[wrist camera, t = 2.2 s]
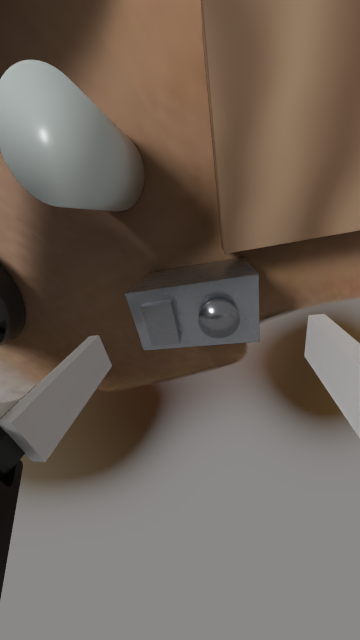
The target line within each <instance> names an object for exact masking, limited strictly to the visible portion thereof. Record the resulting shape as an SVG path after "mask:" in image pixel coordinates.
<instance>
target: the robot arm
mask: <svg viewBox="0 0 360 640" xmlns="http://www.w3.org/2000/svg"><path fill="white" fill-rule="evenodd" d="M24 322H25V309H24V305H23V301H22V298H21V296H20V293H19V291H18V289H17V287H16V285H15V284H14V282H13V281H12V279H11V278H10V276H9V275H8V274H7V272H6V271H5V270H4V269H3V268H2V266H1V265H0V345H2V344H4V343H5V342H7V341H9V340H10V339H12V338H14V337H15V336H17V335H18V334H19V333H20V332H21V330H22V328H23V326H24ZM304 356H305V358H306V359H307V361H308V362H309V363H310V365H311V367H312V368H313V369H314V371H315V373H316V374H317V376H318V377H319V379H320V380H321V382H322V383H323V385H324V386H325V388H326V389H327V391H328V392H329V393H330V395H331V396H332V398H333V399H334V401H335V402H336V404H337V405H338V407H339V408H340V410H341V411H342V413H343V414H344V416H345V417H346V419H347V420H348V422H349V423H350V425H351V426H352V428H353V429H354V431H355V432H356V434H357V435H358V437H359V438H360V343H358V342H357V341H356V340H355V339H354V338H352V337H351V336H350V335H349V334H347V332H345V331H344V330H343V329H342V328H341V327H339V326H338V325H337V324H336V323H334V322H333V321H332V320H331V319H330V318H328V317H327V316H326V315H325V314H318V315H309V316H308V326H307V335H306V345H305V353H304ZM111 367H112V365H111V362H110V360H109V358H108V355H107V353H106V351H105V348H104V346H103V344H102V341H101V339H100V337H99V335H95V336H89V337H88V338H87V339H86V340H85V341H84V342H82V343H81V344H80V345H79V346H78V347H77V348H76V349H75V350H74V351H73V352H72V353H71V354H70V355H68V356H67V357H66V358H65V359H64V360H63V361H62V362H61V363H60V364H59V365H58V366H57V367H56V368H54V369H53V370H52V371H51V372H50V373H49V374H48V375H47V376H46V377H45V378H44V379H43V380H42V381H40V382H39V383H38V384H37V385H36V386H35V387H33V388H32V389H31V390H30V391H29V392H28V393H27V394H26V395H25V396H24V397H23V398H22V399H21V400H20V401H19V402H17V403H16V404H15V405H14V406H13V407H12V408H11V409H10V410H9V411H8V412H7V413H5V414H4V415H3V416H2V417H1V418H0V598H1V592H2V586H3V580H4V574H5V569H6V563H7V557H8V551H9V544H10V539H11V533H12V527H13V521H14V515H15V509H16V503H17V498H18V492H19V486H20V480H21V473H22V468H23V464H22V461H20V459H21V458H22V456H23V455H24V454H26V455H27V457H28V458H29V459H30V460H31V461H36V462H46V460H47V459H48V457H49V456H50V454H51V453H52V452H53V450H54V449H55V447H56V446H57V444H58V443H59V442H60V440H61V439H62V437H63V436H64V434H65V433H66V432H67V430H68V429H69V427H70V426H71V424H72V423H73V422H74V420H75V419H76V417H77V416H78V414H79V413H80V411H81V410H82V409H83V407H84V406H85V404H86V403H87V401H88V400H89V399H90V397H91V396H92V394H93V393H94V391H95V390H96V389H97V387H98V386H99V384H100V383H101V381H102V380H103V379H104V377H105V376H106V374H107V373H108V371H109V370H110V368H111Z"/></svg>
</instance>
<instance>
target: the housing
mask: <svg viewBox="0 0 360 640" xmlns="http://www.w3.org/2000/svg"><path fill="white" fill-rule="evenodd" d="M125 296H126V299H127V302H128V305H129V308H130V311H131V314H132V317H133V320H134V323H135V326H136V329H137V332H138V335H139V338H140V341H141V344H142V347H143V350H156V349H169V348H182V347H195V346H208V345H220V344H233V343H246V342H259V341H260V339H259V274H258V273H257V272H256V271H255V269H254V268H253V267H252V266H251V265H250V264H249V263H248V261H247V260H246V259H245V258H244V257H239V258H234V259H228V260H222V261H216V262H210V263H204V264H198V265H192V266H186V267H180V268H174V269H168V270H162V271H156V272H150V273H148V274H147V275H146V276H145V277H144V278H143V279H141V280H140V281H139V282H138V283H137V284H136V285H135V286H133V287H132V288H131V289H130V290H129V291H128V292H127V293H125Z"/></svg>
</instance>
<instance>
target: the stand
mask: <svg viewBox="0 0 360 640" xmlns="http://www.w3.org/2000/svg"><path fill="white" fill-rule="evenodd" d="M201 15H202V34H203V45H204V56H205V67H206V78H207V89H208V100H209V111H210V122H211V133H212V144H213V155H214V166H215V177H216V188H217V199H218V210H219V221H220V232H221V244H222V249H223V251H224V254H227V253H233V252H238V251H244V250H250V249H256V248H261V247H267V246H273V245H279V244H284V243H290V242H296V241H302V240H307V239H313V238H319V237H325V236H330V235H336V234H342V233H348V232H353V231H359V230H360V0H201Z"/></svg>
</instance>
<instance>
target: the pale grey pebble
mask: <svg viewBox="0 0 360 640" xmlns="http://www.w3.org/2000/svg"><path fill="white" fill-rule="evenodd" d="M0 150H1V153H2V155H3V157H4V160H5V162H6V163H7V165H8V167H9V169H10V170H11V172H12V174H13V175H14V177H15V178H16V179H17V181H18V182H19V183H20V184H21V185H22V186H23V187H24V188H25V189H26V190H27V191H28V192H29V193H30V194H31V195H33V196H34V197H35V198H37V199H38V200H40V201H42V202H44V203H46V204H49V205H52V206H56V207H66V208H78V209H90V210H103V211H115V212H120V211H124V210H127V209H129V208H131V207H132V206H133V205H134V204H135V203H136V202H137V201H138V199H139V198H140V196H141V193H142V191H143V187H144V181H145V172H144V165H143V161H142V158H141V155H140V153H139V151H138V149H137V148H136V146H135V145H134V143H133V142H132V141H131V140H130V139H129V138H128V137H127V136H126V135H125V134H124V133H123V132H122V131H121V130H120V129H119V128H118V127H117V126H116V125H115V124H114V123H113V122H112V121H111V120H110V119H109V118H108V117H107V116H106V115H105V114H104V113H103V112H102V111H101V110H100V109H99V108H98V107H97V106H96V105H95V104H94V103H93V102H92V101H91V100H90V99H89V98H88V97H87V96H86V95H85V94H84V93H83V92H82V91H81V90H80V89H79V88H78V87H77V86H76V85H75V84H74V83H73V82H72V81H71V80H70V79H69V78H68V77H67V76H66V75H65V74H64V73H62V72H61V71H60V70H58V69H57V68H55V67H54V66H52V65H50V64H48V63H45V62H42V61H39V60H23V61H20V62H17V63H15V64H14V65H12V66H11V67H9V68H8V69H7V70H6V71H5V73H4V74H3V76H2V77H1V79H0Z"/></svg>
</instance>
